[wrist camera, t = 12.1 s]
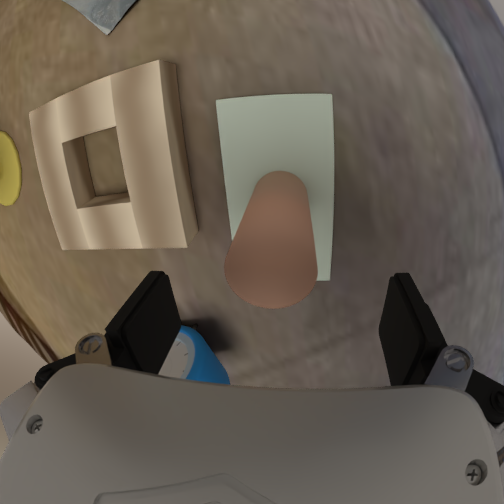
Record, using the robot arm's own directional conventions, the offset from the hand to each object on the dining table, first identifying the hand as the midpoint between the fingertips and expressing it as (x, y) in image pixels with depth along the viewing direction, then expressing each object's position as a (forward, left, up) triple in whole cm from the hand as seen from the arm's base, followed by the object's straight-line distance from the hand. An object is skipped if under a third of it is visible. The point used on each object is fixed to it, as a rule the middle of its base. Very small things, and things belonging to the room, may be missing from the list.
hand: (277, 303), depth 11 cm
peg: (0, -1, -11) cm, 11 cm away
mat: (0, -1, -12) cm, 12 cm away
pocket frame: (+14, -5, -12) cm, 19 cm away
